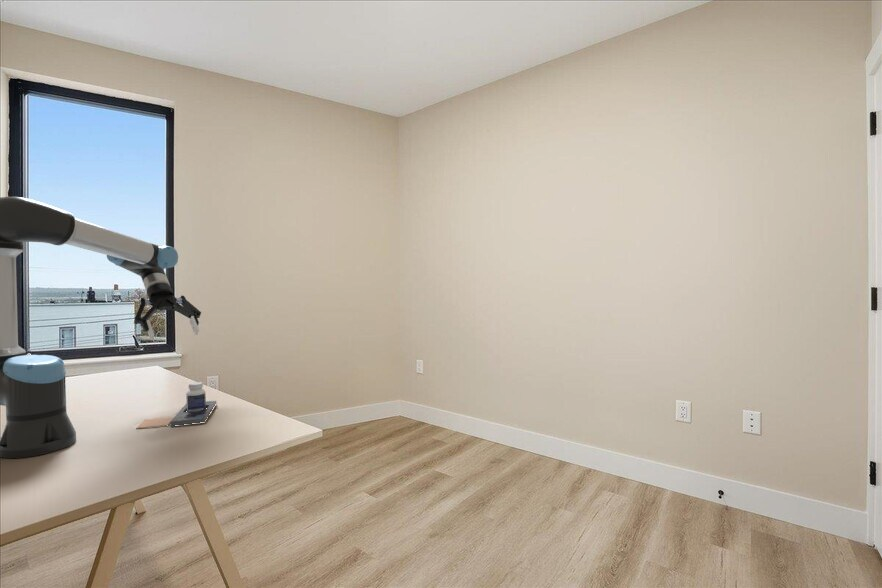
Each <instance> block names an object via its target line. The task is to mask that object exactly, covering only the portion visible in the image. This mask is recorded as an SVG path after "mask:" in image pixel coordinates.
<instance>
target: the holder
mask: <svg viewBox="0 0 882 588" xmlns="http://www.w3.org/2000/svg"><path fill="white" fill-rule="evenodd" d="M215 404H216V405H217V400H209V401H208V400H207V401H206V408H207V409H206V410H205V411H194V412H186V411H187V402H185V405H184V406H183V407H181V409H180V410H179V411H178V412H177V413H176V414H175V416H173V417H174V418H173V419H172V420H171V421H170V424H169V425H170V427H171V426H175V425H184V424H192V423H200V422H205V420H206V419H207V417H208V416H209V414H210V412H211V411H212V409H213V407H214V406H215ZM209 417H210V416H209ZM207 420H208V419H207ZM205 423H206V422H205ZM175 427H176V426H175Z"/></svg>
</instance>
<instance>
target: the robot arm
mask: <svg viewBox="0 0 882 588" xmlns="http://www.w3.org/2000/svg"><path fill="white" fill-rule="evenodd" d="M24 243H45V244H50V245H53V246H63V245H68V246H73V247H76V248H80V249H83V250H87V251H91V252H93V253H99V254H101V255H106V258H107V260H108V261H109V262H110V263H113V264H114V265H115V266H117V267H119V268H122V269H124V270H127V271H128V272H131V273H133V274H135V275H137V276H140V277H141V280H142V283H143V286H144V288H145V291H146V294H147V297H148V299H145V298H144V297H141V298H140V301H139V307H138V310H137V312H136V315H135V316H134V320H133V321H134V322H133V324H134V325H138V324H140V325H139V326H140V327H142V330H143V332H145V333H147V335H148V338H149V341H154V338H155V333H154V329H153V327H152V323H151V321H150V318H152V317H153V315H154V314H155V313H157V311H159V312H161V311H170V310H171V311H173V312H178V313H179V314H181V315H183V316H184V317H186V318H188V319H189V323H190V325H191V328H192V331H193V333H194V336H198V334H199V332H200V329H199V324H200V323H199V319H200V317H201V315H202V311H200V310H199V309H198V308H197V307H195V305H193V304H192V303H191V302H189V301H188V299H186V297H185V295H180V297H175V295H174V293H173V290H172V288H171V287H172V286H171V284H170V282H169V279H168V276H167V274H166V272H165V270H166V269H170V268H173V267H175V266H176V265H177V263H178V262H179V254H178V252H177V250H176V248H174V247H173V246H170V245H158V244H156V243H155V244H154V243H151V242H148V241H145V240H142V239H138V238H135V237H133V236H130V235H126V234H124V233H120V232H118V231H115V230H111V229H108V228H106V227H103V226H100V225H97V224H94V223H92V222H87V221H85V220H81V219H79V218H76V217H75V216H74V214H73V213H72V212H70V211H66V210H64V209H60V208H58V207H55V206H52V205H49V204H47V203H44V202H41V201H36V200H34V199H30V198H26V197H19V196H3V197H1V196H0V406H5V415H6V416H5V417H6V423H5V426H4V429H3V432H2V435H1V438H0V456H1V457H0V458H2V457H4V458H3V459H21V458H22V459H23V458H29V457H30V458H31V457H35V456H41V455H45V454H49V453H54V452H57V451H60V450H62V449H64V448H68V447H69V446H71V445H73V444H75V443H76V442H77V431H76V429H75V427H74V425H73V424H72V421H71V419H70V417H69V415H68V412H67V392H66V391H67V389H66V386H67V385H66V375H67V372H66V369H65V368H66V367H65V363H64V360H63V359H62V358H60V357H58V356H55V355H50V354H49V355H48V354H27V353H26V352H27V351H26V349H25V348H23V347H21V346H20V345H19V332H18V330H19V328H18V325H19V324H18V323H19V322H18V288H17V257H18V256H19V255H21V253H23V252H24ZM148 305H150V306H151V308H150V309H149V310H148V311H147V312H146V313H145V315H144V316H142V315H143V312H144V310H145V307H146V306H148ZM141 317H142V318H141Z"/></svg>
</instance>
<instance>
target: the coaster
mask: <svg viewBox="0 0 882 588" xmlns="http://www.w3.org/2000/svg"><path fill="white" fill-rule="evenodd" d="M174 417H175V416H171V417H170V416H169V417H167V416H166V417H158V418H157V417H156V418H146V419H144V420H143V421H142V422H141V423H140V424H139V425H138V426H136V428H135V429H136V430H140V429H139V428H143V429H150V428H149V427H154V428H159V427H158V426H164V427H168V426H169V425H170V424H169V423H170V421H171V420H172V419H173V418H174ZM168 424H169V425H168ZM167 425H168V426H167Z"/></svg>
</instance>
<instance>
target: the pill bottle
mask: <svg viewBox="0 0 882 588" xmlns="http://www.w3.org/2000/svg"><path fill="white" fill-rule="evenodd" d="M203 386H204V385H203V382H202V381H196V382H191V383H188V389H189V390H187V391H186V394H185V395H186V403H187V412H194V411H205V410H206V402H207V401H206V400H207V399H206V398H207V397H206V390H205V389H204V388H203Z"/></svg>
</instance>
